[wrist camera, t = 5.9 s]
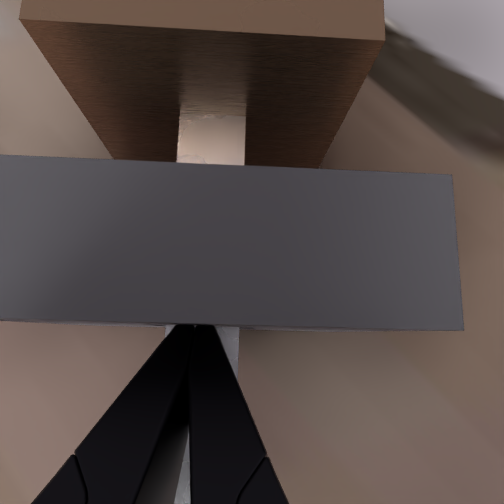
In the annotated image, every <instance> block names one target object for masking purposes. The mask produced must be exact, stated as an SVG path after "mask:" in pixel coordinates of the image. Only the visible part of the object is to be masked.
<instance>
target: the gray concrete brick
mask: <svg viewBox="0 0 504 504" xmlns="http://www.w3.org/2000/svg"><path fill="white" fill-rule="evenodd" d="M0 321H15V322H35V323H54V324H74V325H96V326H134V327H166V325H177V324H189V325H194V326H196V325H214V326H215V327H239V329H249V330H287V331H325V332H346V331H464V322H463V309H462V297H461V284H460V271H459V258H458V245H457V232H456V220H455V207H454V194H453V181H452V175H448V174H426V173H403V172H381V171H358V170H336V169H313V168H291V167H268V166H246V165H223V164H201V163H178V162H156V161H133V160H111V159H88V158H66V157H43V156H21V155H0Z"/></svg>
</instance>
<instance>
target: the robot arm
mask: <svg viewBox="0 0 504 504" xmlns="http://www.w3.org/2000/svg"><path fill="white" fill-rule="evenodd" d="M188 433H189V461H190V504H289V502H288V500H287V498H286V495H285V493H284V491H283V489H282V487H281V484H280V482H279V480H278V478H277V475H276V473H275V471H274V468H273V466H272V463H271V461H270V458H269V457H267V452H266V449H265V447H264V444H263V442H262V439H261V437H260V435H259V432H258V430H257V427H256V425H255V422H254V420H253V417H252V415H251V413H250V410H249V408H248V405H247V403H246V400H245V398H244V396H243V393H242V391H241V388H240V386H239V383H238V381H237V378H236V376H235V374H234V371H233V369H232V366H231V364H230V361H229V359H228V357H227V354H226V352H225V349H224V347H223V344H222V342H221V340H220V337H219V335H218V332H217V330H216V327H215V326H214V325H196V327H195V326H194V325H189V324H177V325H175V326H174V327H173V328H172V330H171V331H170V332H169V333H168V335H167V336H166V337H165V338H164V340H163V341H162V342H161V343H160V345H159V346H158V347H157V348H156V350H155V351H154V352H153V353H152V355H151V356H150V357H149V358H148V360H147V361H146V362H145V363H144V365H143V366H142V367H141V369H140V370H139V371H138V372H137V374H136V375H135V376H134V377H133V379H132V380H131V381H130V382H129V384H128V385H127V386H126V387H125V389H124V390H123V391H122V392H121V394H120V395H119V396H118V397H117V399H116V400H115V401H114V402H113V404H112V405H111V406H110V407H109V409H108V410H107V411H106V412H105V414H104V415H103V416H102V417H101V419H100V420H99V421H98V422H97V424H96V425H95V426H94V427H93V429H92V430H91V431H90V432H89V434H88V435H87V436H86V437H85V439H84V440H83V441H82V442H81V444H80V445H79V446H78V447H77V449H76V450H75V452H74V453H75V455H74V454H72V455H71V456H70V457H69V458H68V459H67V461H66V462H65V463H64V465H63V466H62V467H61V468H60V470H59V471H58V472H57V473H56V475H55V476H54V477H53V478H52V479H51V480H50V482H49V483H48V484H47V485H46V486H45V488H44V489H43V490H42V491H41V492H40V494H39V495H38V496H37V497H36V498H35V499H34V501H33V502H32V503H31V504H174V501H175V496H176V491H177V486H178V482H179V477H180V472H181V467H182V463H183V458H184V453H185V448H186V444H187V439H188Z"/></svg>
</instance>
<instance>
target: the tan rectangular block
mask: <svg viewBox="0 0 504 504" xmlns="http://www.w3.org/2000/svg"><path fill="white" fill-rule="evenodd" d="M19 20H20V21H21V23H22V24H23V26H24V27H25V29H26V30H27V31H28V33H29V34H30V36H31V37H32V39H33V40H34V42H35V43H36V45H37V46H38V48H39V49H40V51H41V52H42V54H43V55H44V57H45V58H46V60H47V61H48V63H49V64H50V65H51V67H52V68H53V70H54V71H55V73H56V74H57V76H58V77H59V79H60V80H61V82H62V83H63V85H64V86H65V88H66V89H67V91H68V92H69V94H70V95H71V96H72V98H73V99H74V101H75V102H76V104H77V105H78V107H79V108H80V110H81V111H82V113H83V114H84V116H85V117H86V119H87V120H88V122H89V123H90V125H91V126H92V128H93V129H94V130H95V132H96V133H97V135H98V136H99V138H100V139H101V141H102V142H103V144H104V145H105V147H106V148H107V150H108V151H109V153H110V154H111V156H112V157H113V159H114V160H133V161H156V162H178V163H201V164H223V165H246V166H268V167H291V168H313V169H318V167H319V165H320V163H321V161H322V160H323V158H324V156H325V154H326V152H327V150H328V148H329V146H330V144H331V143H332V141H333V139H334V137H335V135H336V133H337V131H338V129H339V127H340V126H341V124H342V122H343V120H344V118H345V116H346V114H347V112H348V110H349V108H350V107H351V105H352V103H353V101H354V99H355V97H356V95H357V93H358V91H359V90H360V88H361V86H362V84H363V82H364V80H365V78H366V76H367V74H368V72H369V71H370V69H371V67H372V65H373V63H374V61H375V59H376V57H377V55H378V54H379V52H380V50H381V48H382V46H383V44H384V42H385V22H384V1H383V0H22V3H21V9H20V15H19ZM174 326H175V325H166V330H165V337H166V336H167V335H168V333H169V332H170V331H171V330H172V328H173V327H174ZM195 327H196V326H195ZM216 330H217V332H218V335H219V337H220V340H221V342H222V344H223V347H224V349H225V352H226V354H227V357H228V359H229V361H230V364H231V366H232V369H233V371H234V374H235V376H236V378H237V381H238V351H239V327H216ZM174 504H190V461H189V433H188V439H187V444H186V448H185V453H184V458H183V463H182V467H181V472H180V477H179V482H178V486H177V491H176V496H175V501H174Z"/></svg>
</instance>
